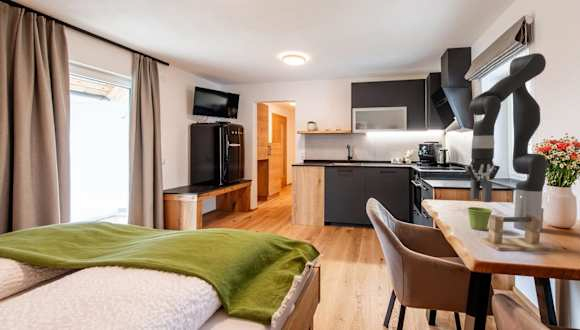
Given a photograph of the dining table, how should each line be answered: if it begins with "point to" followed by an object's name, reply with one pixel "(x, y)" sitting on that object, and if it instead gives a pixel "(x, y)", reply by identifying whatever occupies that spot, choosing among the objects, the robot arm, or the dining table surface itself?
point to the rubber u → (485, 191)
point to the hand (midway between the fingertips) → (480, 190)
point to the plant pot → (479, 217)
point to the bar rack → (514, 243)
